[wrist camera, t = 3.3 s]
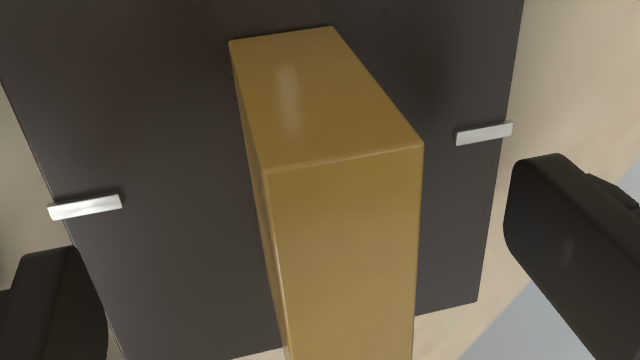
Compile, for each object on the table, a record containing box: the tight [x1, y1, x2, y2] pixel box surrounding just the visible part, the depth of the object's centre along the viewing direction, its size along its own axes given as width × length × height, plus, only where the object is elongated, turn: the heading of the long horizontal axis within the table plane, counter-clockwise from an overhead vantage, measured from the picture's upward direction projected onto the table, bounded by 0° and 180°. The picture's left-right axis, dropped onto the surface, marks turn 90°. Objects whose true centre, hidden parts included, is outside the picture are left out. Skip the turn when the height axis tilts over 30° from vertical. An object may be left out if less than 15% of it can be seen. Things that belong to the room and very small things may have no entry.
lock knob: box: [228, 26, 424, 360], centre depth 10 cm, size 6×2×5 cm, turn 4°
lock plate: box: [0, 0, 524, 360], centre depth 13 cm, size 12×10×3 cm
